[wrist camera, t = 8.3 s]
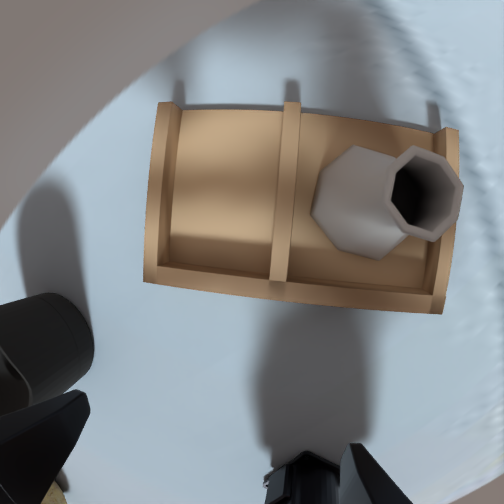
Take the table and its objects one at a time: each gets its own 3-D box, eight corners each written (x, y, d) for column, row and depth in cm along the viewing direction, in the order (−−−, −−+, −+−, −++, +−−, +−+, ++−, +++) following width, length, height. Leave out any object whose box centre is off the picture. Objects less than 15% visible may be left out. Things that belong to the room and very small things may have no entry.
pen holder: (22, 326, 26) (-44, 356, 16) (51, 266, 24) (-34, 288, 14) (77, 393, 26) (16, 442, 16) (115, 344, 24) (39, 398, 14)
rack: (428, 303, 20) (442, 314, 17) (159, 274, 22) (143, 282, 20) (443, 138, 18) (459, 130, 15) (173, 113, 21) (158, 102, 18)
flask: (346, 127, 19) (382, 58, 9) (433, 188, 18) (524, 174, 8) (290, 219, 20) (281, 224, 10) (381, 278, 19) (442, 332, 10)
